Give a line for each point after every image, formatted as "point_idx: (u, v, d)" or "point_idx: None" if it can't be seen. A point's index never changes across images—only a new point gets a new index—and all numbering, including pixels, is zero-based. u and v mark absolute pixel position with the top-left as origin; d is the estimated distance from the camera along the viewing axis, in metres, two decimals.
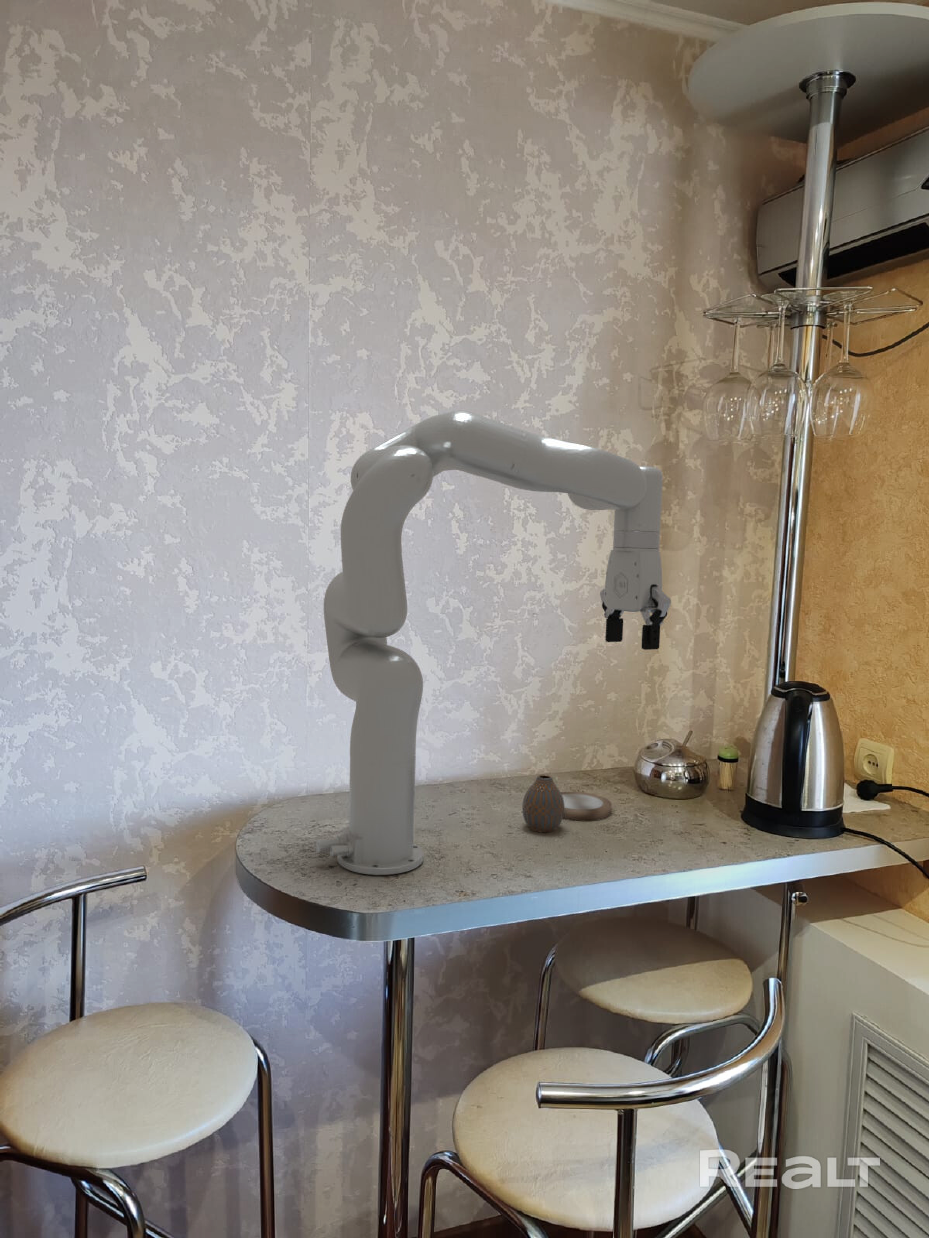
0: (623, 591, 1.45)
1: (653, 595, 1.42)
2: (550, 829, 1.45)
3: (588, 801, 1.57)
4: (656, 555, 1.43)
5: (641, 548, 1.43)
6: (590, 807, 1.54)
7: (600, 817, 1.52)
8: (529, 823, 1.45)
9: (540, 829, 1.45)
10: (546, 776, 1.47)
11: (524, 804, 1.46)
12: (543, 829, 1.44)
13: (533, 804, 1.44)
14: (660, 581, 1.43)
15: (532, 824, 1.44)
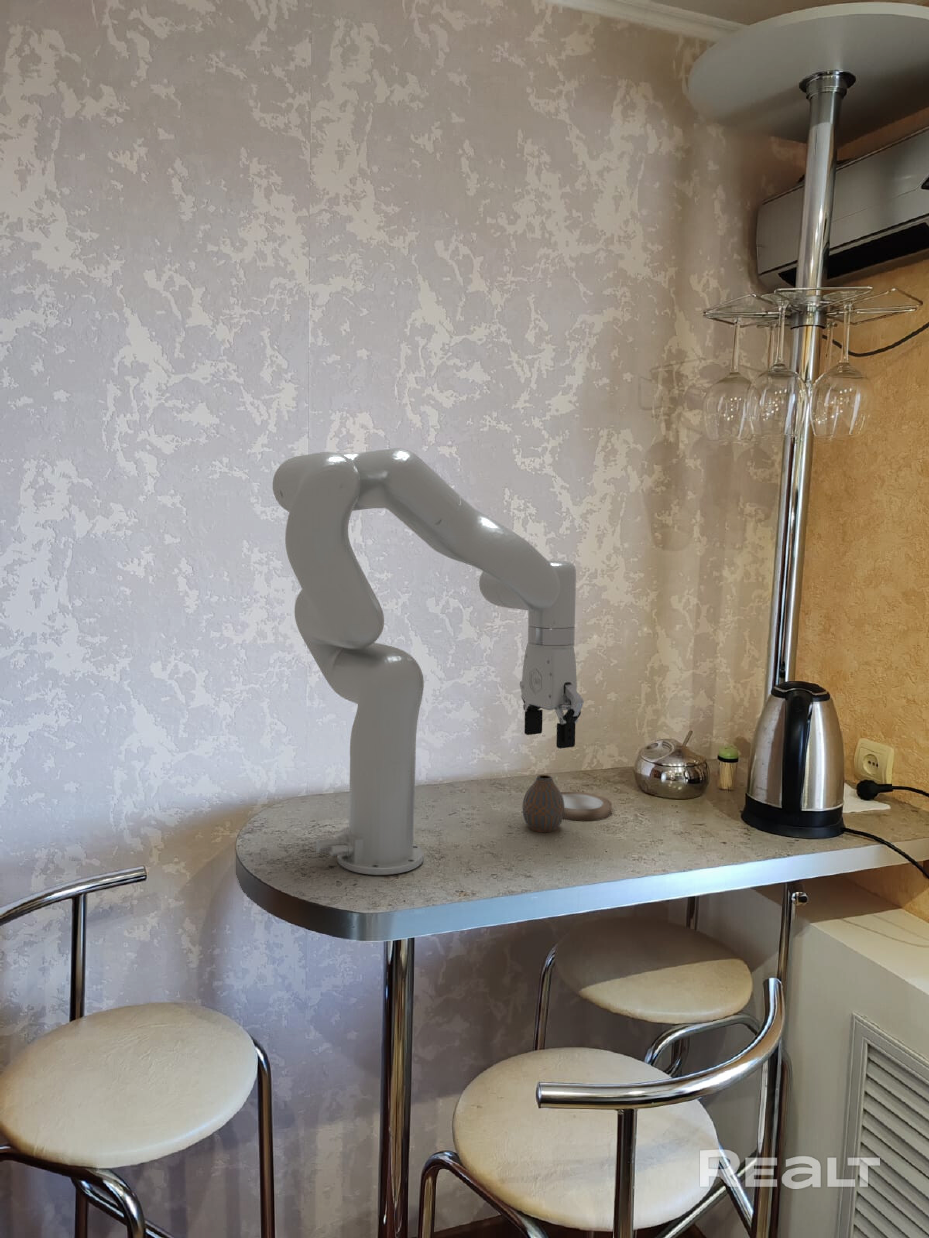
0: (538, 687, 1.43)
1: (566, 694, 1.40)
2: (550, 829, 1.45)
3: (588, 801, 1.57)
4: (569, 652, 1.41)
5: (554, 645, 1.40)
6: (590, 807, 1.54)
7: (600, 817, 1.52)
8: (529, 823, 1.45)
9: (540, 830, 1.45)
10: (546, 776, 1.47)
11: (524, 804, 1.46)
12: (543, 829, 1.44)
13: (533, 804, 1.44)
14: (574, 678, 1.41)
15: (532, 824, 1.44)
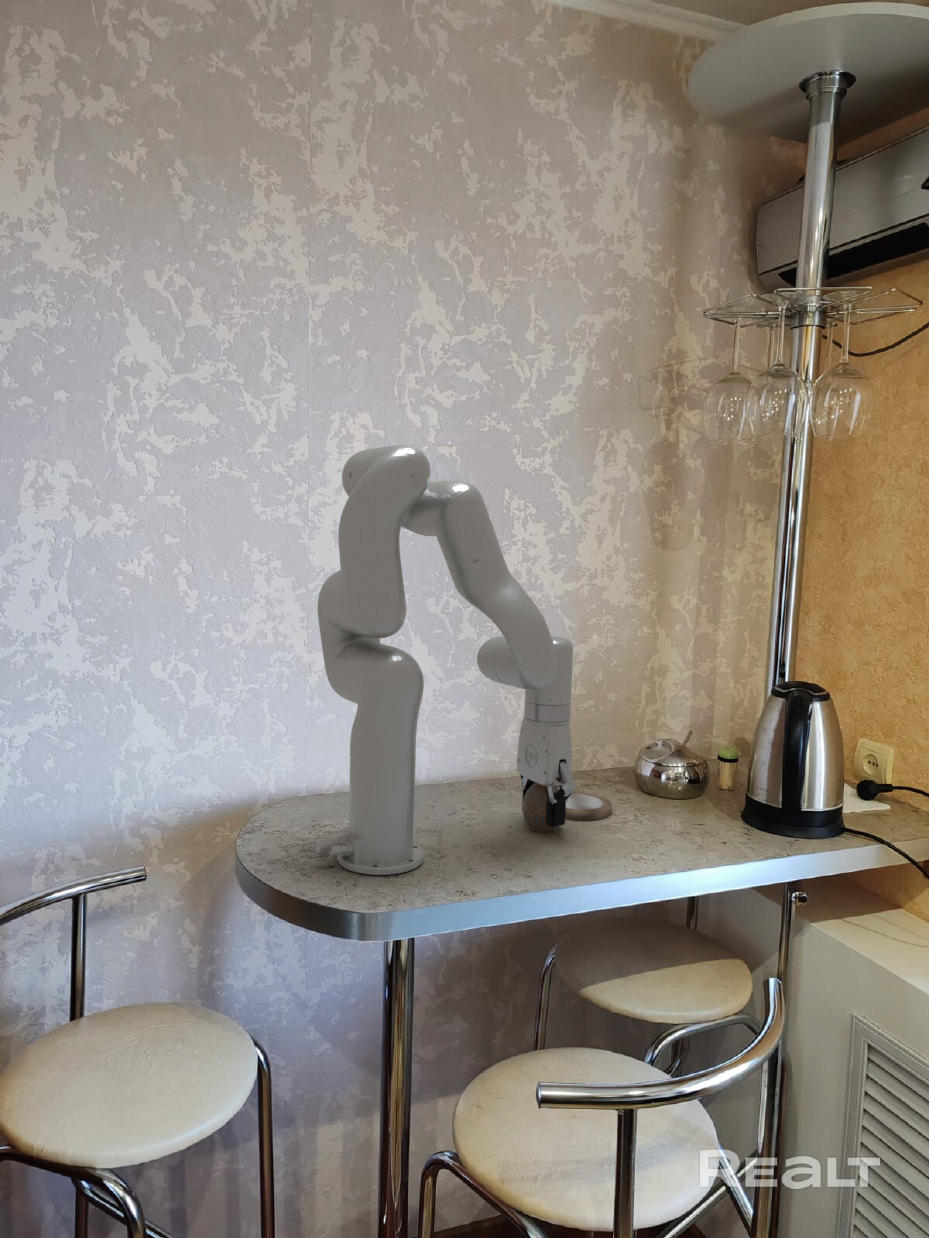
0: (533, 762, 1.44)
1: (560, 773, 1.41)
2: (550, 829, 1.45)
3: (588, 801, 1.57)
4: (565, 729, 1.42)
5: (550, 722, 1.41)
6: (590, 807, 1.54)
7: (600, 817, 1.52)
8: (529, 823, 1.45)
9: (540, 829, 1.45)
10: None
11: (524, 804, 1.46)
12: (543, 829, 1.44)
13: (533, 804, 1.44)
14: (570, 754, 1.42)
15: (532, 823, 1.44)
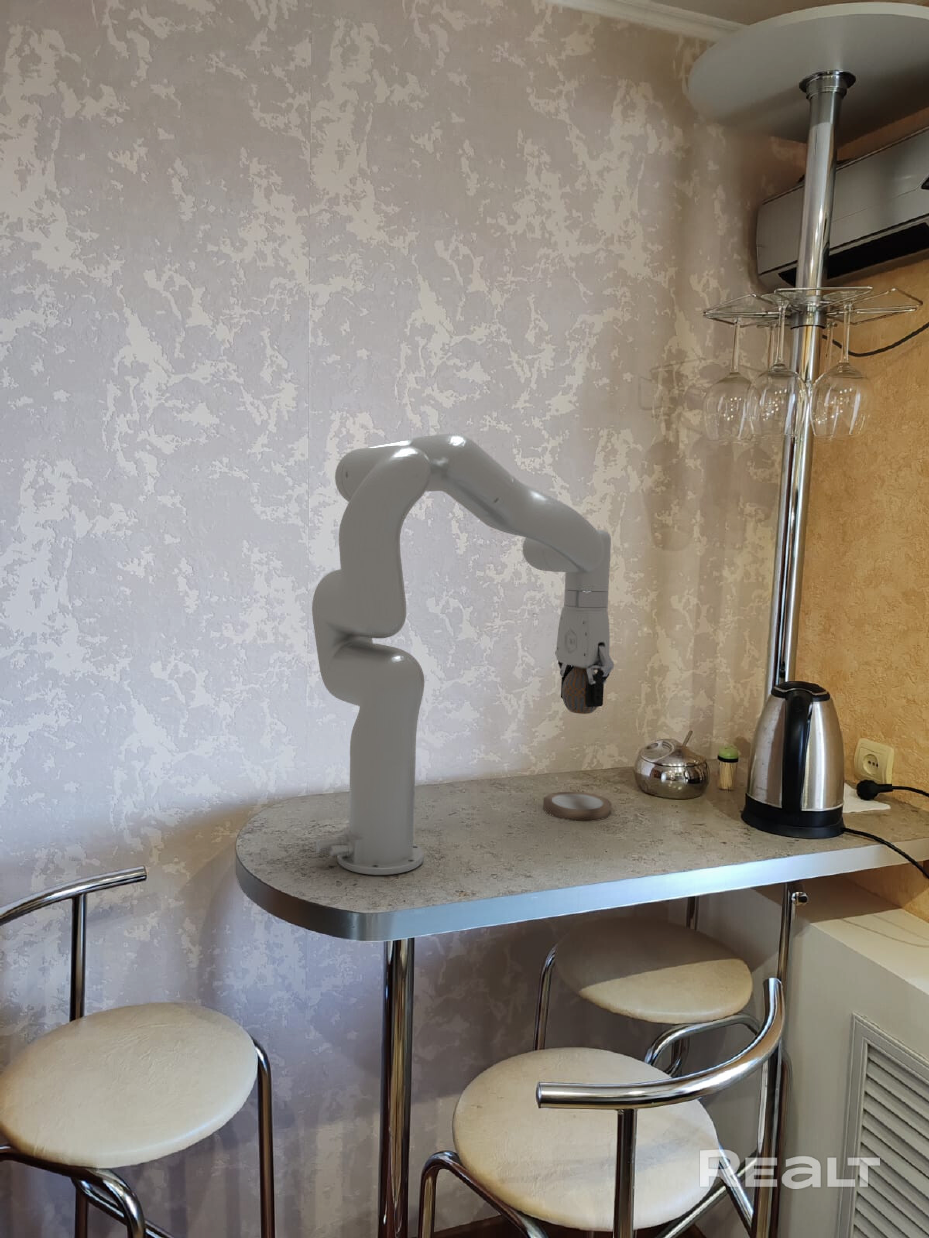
0: (573, 647, 1.53)
1: (599, 655, 1.50)
2: (589, 710, 1.53)
3: (588, 801, 1.57)
4: (604, 614, 1.50)
5: (589, 607, 1.50)
6: (590, 807, 1.54)
7: (600, 817, 1.52)
8: (569, 705, 1.53)
9: (580, 711, 1.53)
10: None
11: (564, 687, 1.54)
12: (582, 710, 1.53)
13: (573, 686, 1.52)
14: (608, 638, 1.51)
15: (572, 705, 1.53)
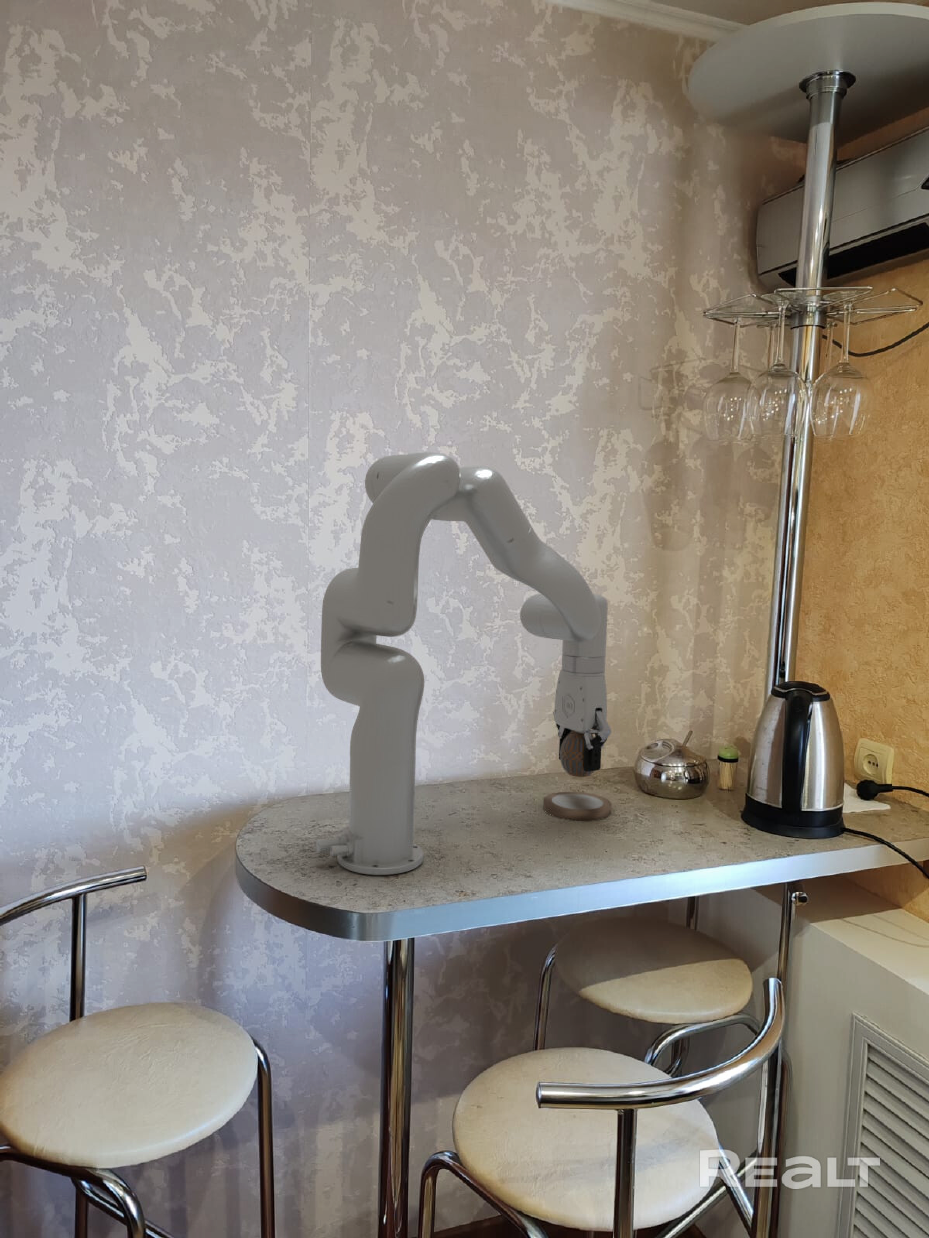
0: (570, 712, 1.54)
1: (596, 720, 1.51)
2: (586, 774, 1.54)
3: (588, 801, 1.57)
4: (601, 680, 1.51)
5: (587, 673, 1.51)
6: (590, 807, 1.54)
7: (600, 817, 1.52)
8: (567, 768, 1.55)
9: (578, 774, 1.54)
10: None
11: (562, 751, 1.55)
12: (580, 774, 1.54)
13: (571, 750, 1.54)
14: (605, 703, 1.52)
15: (570, 769, 1.54)
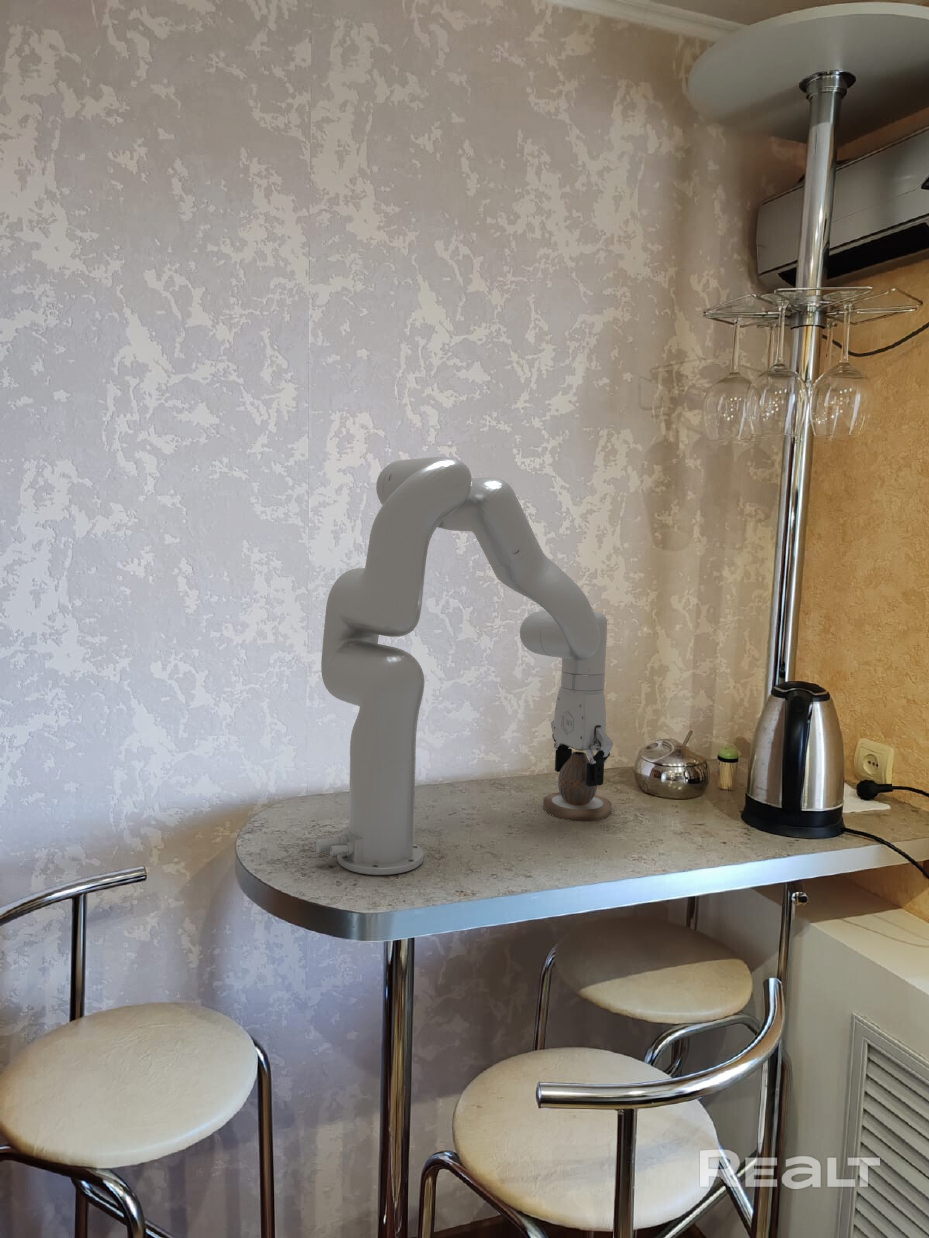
0: (569, 729, 1.54)
1: (597, 736, 1.51)
2: (584, 802, 1.55)
3: None
4: (600, 697, 1.52)
5: (586, 691, 1.51)
6: (590, 807, 1.54)
7: (600, 817, 1.52)
8: (565, 796, 1.55)
9: (575, 802, 1.55)
10: (580, 752, 1.57)
11: (560, 779, 1.56)
12: (578, 802, 1.54)
13: (569, 778, 1.54)
14: (604, 721, 1.52)
15: (568, 797, 1.54)
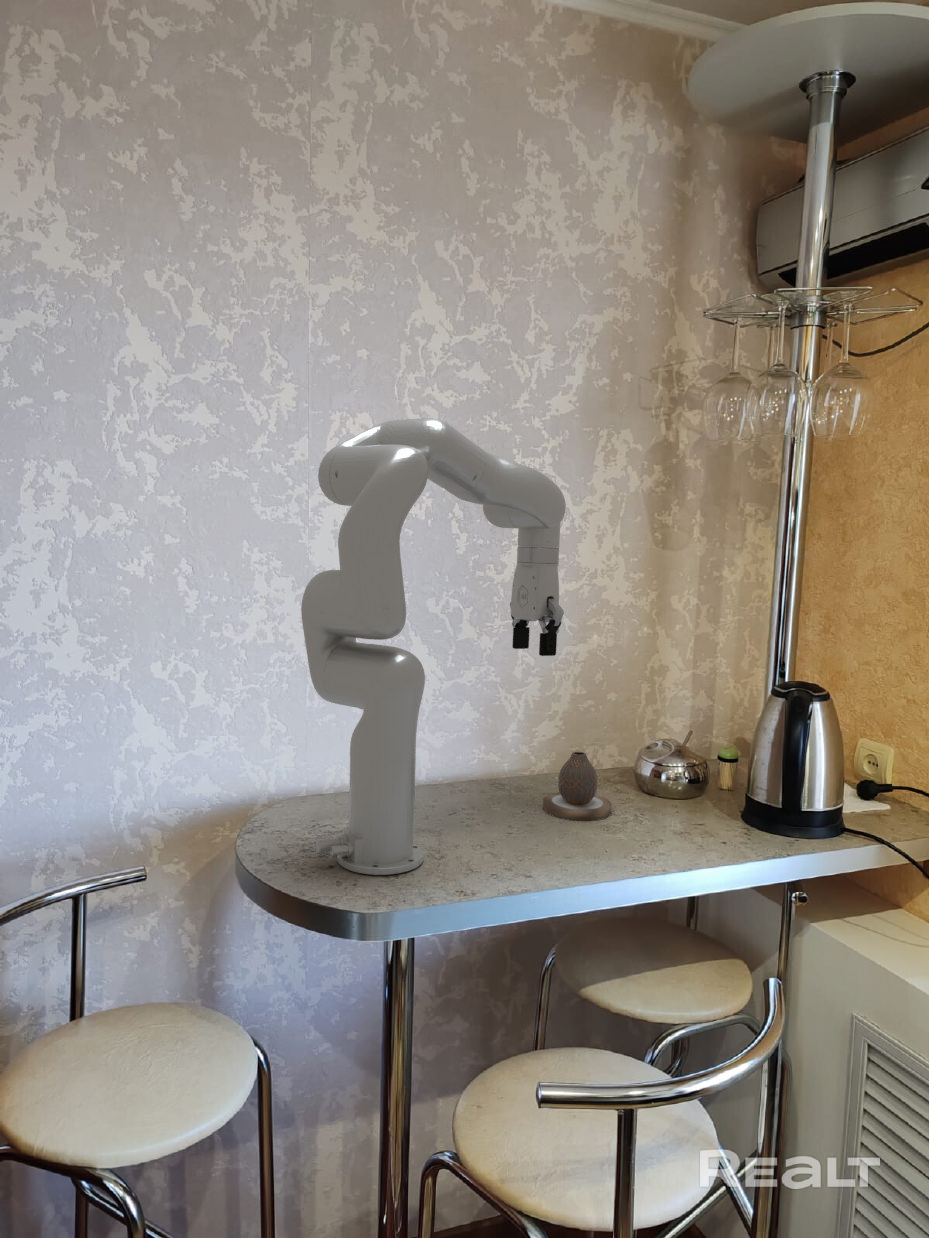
0: (524, 602, 1.59)
1: (549, 606, 1.55)
2: (584, 802, 1.55)
3: None
4: (553, 570, 1.57)
5: (539, 563, 1.57)
6: (590, 807, 1.54)
7: (600, 817, 1.52)
8: (565, 796, 1.55)
9: (575, 802, 1.55)
10: (580, 752, 1.57)
11: (560, 779, 1.56)
12: (578, 802, 1.54)
13: (569, 778, 1.54)
14: (557, 593, 1.57)
15: (568, 797, 1.54)
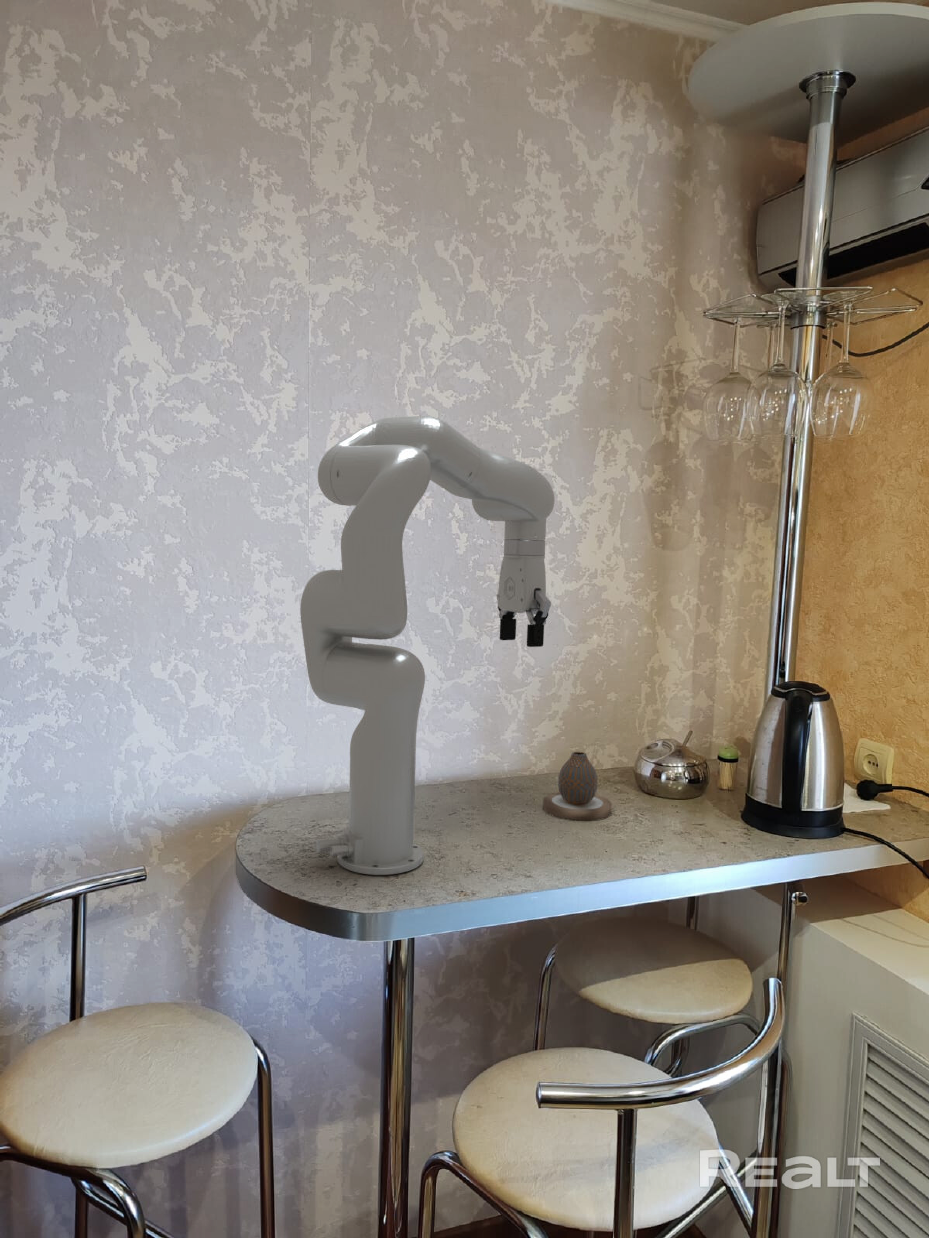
0: (511, 594, 1.61)
1: (536, 598, 1.58)
2: (584, 802, 1.55)
3: None
4: (540, 562, 1.59)
5: (526, 555, 1.58)
6: (590, 807, 1.54)
7: (600, 817, 1.52)
8: (565, 796, 1.55)
9: (575, 802, 1.55)
10: (580, 752, 1.57)
11: (560, 779, 1.55)
12: (578, 802, 1.54)
13: (569, 778, 1.54)
14: (544, 585, 1.59)
15: (568, 797, 1.54)
